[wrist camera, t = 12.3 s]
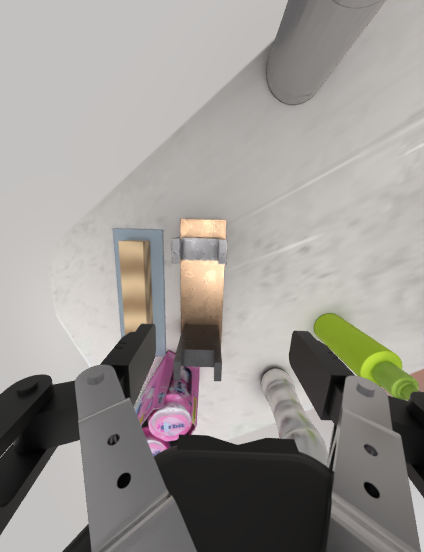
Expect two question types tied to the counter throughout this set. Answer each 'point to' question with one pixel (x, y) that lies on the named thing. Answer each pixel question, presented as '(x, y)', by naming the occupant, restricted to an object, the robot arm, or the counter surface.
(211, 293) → the hook rack
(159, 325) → the slate mat
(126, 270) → the oak rail
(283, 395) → the plastic bottle
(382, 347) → the soap dispenser
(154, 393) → the gum box
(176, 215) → the counter surface
